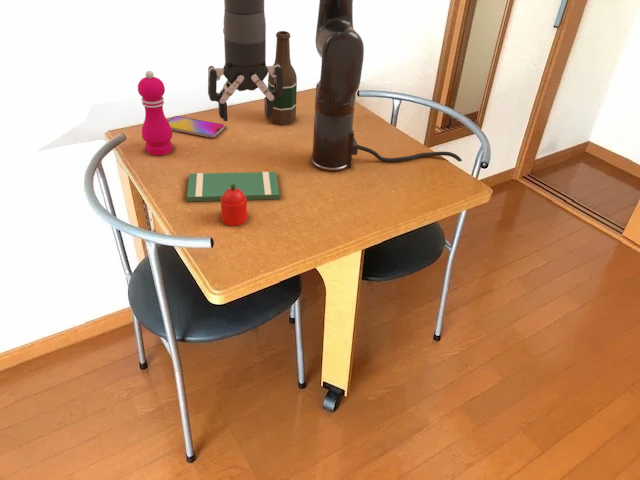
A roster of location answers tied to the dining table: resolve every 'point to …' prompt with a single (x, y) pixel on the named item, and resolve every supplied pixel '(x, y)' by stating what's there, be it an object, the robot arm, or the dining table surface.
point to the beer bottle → (284, 83)
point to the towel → (218, 183)
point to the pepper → (234, 206)
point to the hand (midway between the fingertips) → (246, 118)
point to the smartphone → (195, 126)
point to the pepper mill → (154, 116)
